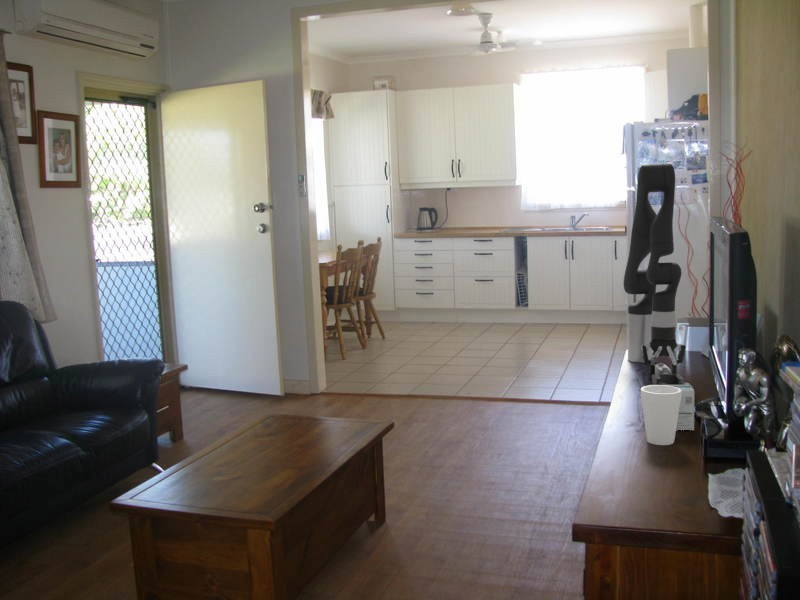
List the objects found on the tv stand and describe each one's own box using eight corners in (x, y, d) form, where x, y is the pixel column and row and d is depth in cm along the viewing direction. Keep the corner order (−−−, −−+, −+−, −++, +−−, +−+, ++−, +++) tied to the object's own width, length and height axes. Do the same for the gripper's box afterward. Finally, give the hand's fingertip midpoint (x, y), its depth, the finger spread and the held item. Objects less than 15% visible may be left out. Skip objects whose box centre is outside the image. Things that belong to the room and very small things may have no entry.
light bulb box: (688, 423, 216) (689, 383, 215) (695, 431, 209) (695, 389, 208) (646, 424, 217) (647, 384, 216) (652, 431, 210) (652, 390, 209)
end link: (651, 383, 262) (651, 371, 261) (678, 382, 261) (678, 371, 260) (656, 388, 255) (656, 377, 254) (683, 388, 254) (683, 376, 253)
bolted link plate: (654, 376, 272) (654, 362, 272) (664, 376, 272) (665, 362, 271) (660, 383, 262) (660, 369, 262) (671, 383, 262) (671, 369, 261)
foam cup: (675, 449, 195) (675, 395, 194) (636, 444, 200) (636, 391, 199) (684, 438, 203) (685, 387, 202) (646, 433, 208) (646, 383, 207)
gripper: (683, 322, 268) (682, 373, 270) (638, 323, 269) (638, 373, 271) (689, 326, 260) (688, 378, 262) (642, 326, 262) (642, 378, 264)
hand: (662, 375), depth 267 cm, fingers open, 5 cm apart
